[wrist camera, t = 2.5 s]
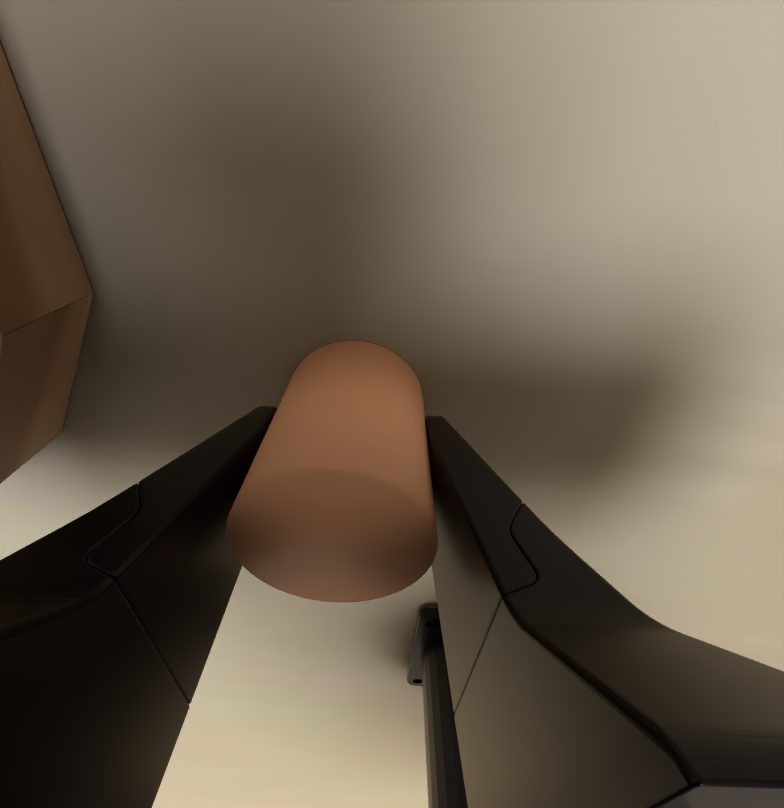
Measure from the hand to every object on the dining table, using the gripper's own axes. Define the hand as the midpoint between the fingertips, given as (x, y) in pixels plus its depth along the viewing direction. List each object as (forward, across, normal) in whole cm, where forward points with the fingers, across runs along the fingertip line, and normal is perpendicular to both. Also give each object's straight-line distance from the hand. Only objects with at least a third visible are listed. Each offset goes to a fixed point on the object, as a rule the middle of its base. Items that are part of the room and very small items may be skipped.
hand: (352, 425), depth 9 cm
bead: (+1, 0, 0) cm, 1 cm away
